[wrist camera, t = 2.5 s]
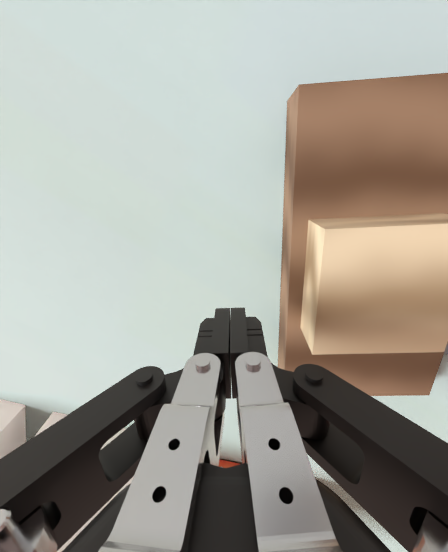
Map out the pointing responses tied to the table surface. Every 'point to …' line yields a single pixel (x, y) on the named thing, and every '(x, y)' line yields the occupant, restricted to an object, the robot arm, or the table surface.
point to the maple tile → (376, 285)
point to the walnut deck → (360, 198)
